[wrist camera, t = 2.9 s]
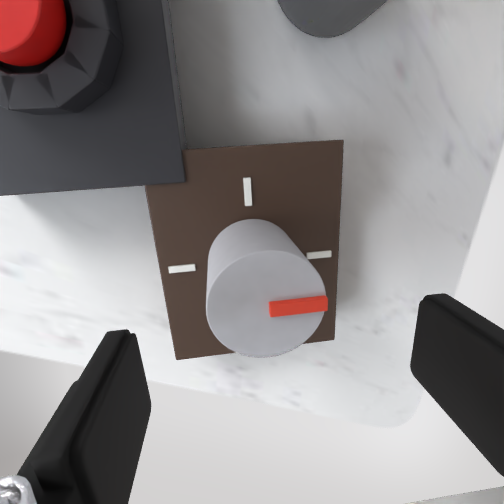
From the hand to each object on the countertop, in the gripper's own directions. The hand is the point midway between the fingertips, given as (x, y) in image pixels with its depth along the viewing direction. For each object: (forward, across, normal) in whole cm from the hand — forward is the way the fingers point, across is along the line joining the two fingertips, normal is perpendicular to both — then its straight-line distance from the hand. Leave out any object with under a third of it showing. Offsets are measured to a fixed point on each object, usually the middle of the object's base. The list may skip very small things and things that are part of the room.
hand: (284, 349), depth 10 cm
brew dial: (+7, 0, 0) cm, 7 cm away
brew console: (+10, 0, 0) cm, 10 cm away
